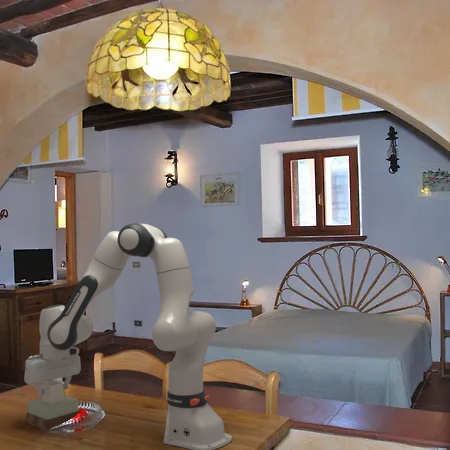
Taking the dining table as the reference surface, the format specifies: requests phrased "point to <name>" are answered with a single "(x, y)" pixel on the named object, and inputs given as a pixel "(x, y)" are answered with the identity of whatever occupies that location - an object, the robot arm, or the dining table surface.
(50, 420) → the tower base
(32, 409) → the tower top
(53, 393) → the cream block
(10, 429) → the dining table surface
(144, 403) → the dining table surface
